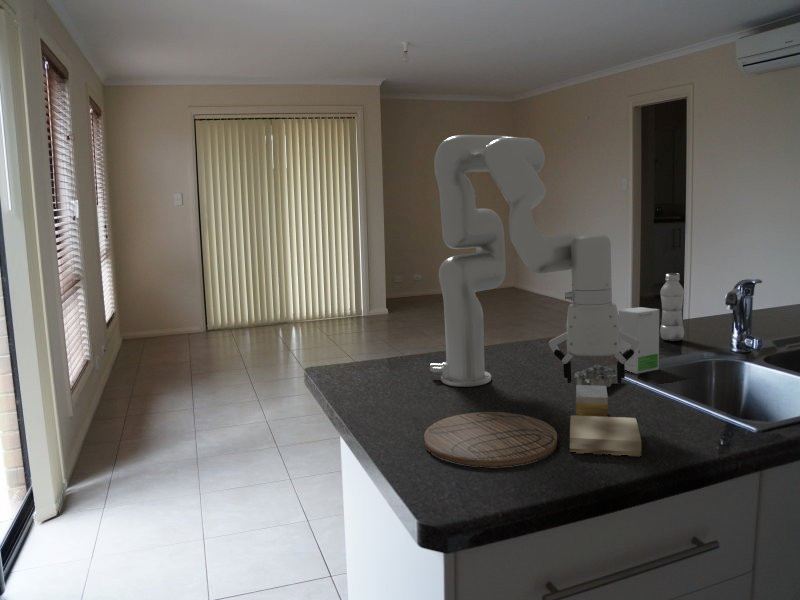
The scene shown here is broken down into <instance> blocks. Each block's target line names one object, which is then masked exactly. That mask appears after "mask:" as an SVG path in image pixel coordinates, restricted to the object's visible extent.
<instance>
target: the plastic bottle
mask: <svg viewBox="0 0 800 600" xmlns="http://www.w3.org/2000/svg"><path fill="white" fill-rule="evenodd" d="M664 280H665V283H664V284H663V286H662V287H661V288H660V291H659V293H660V301H661V309H662V311H661V314H662V315H661V316H662V317H661V324H660V326H659V336H660V337H661V339H662V340H664V341H668V340H669V341H668V342H675V341H676V342H677V341H681V340H683V338H684V335H685V328H684V324H683V303H684V297H685V296H684V295H685V290H684V289H685V288H684V287H683V286H682V285H681V283H680V280H681V278H680V273H678V272H677V273H676V272H669V273H666V274H665V279H664Z"/></svg>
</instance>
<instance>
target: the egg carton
mask: <svg viewBox="0 0 800 600" xmlns="http://www.w3.org/2000/svg"><path fill="white" fill-rule="evenodd" d="M573 377H574V378H576V385H593V386H606V388H610V387H611V386H612V385H613V384H615V385H616V384H619V383H618V382H617V370H615V368H610V367H606V366H602V365H600V364H598V363H596V364H595V365H593V366H592V367H589V368H588V367H587V368H585V369H584V370H581V371H575V372H574V376H573Z"/></svg>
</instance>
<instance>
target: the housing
mask: <svg viewBox="0 0 800 600" xmlns="http://www.w3.org/2000/svg"><path fill="white" fill-rule="evenodd" d="M575 388H576V389H575V416H600V417H609V416H608V413H609V412H608V408H609V407H608V405H609V404H608V403H609V401H608V400H609V396H608V391H607V388H608V387H606V386H593V385H577V384H576V385H575Z"/></svg>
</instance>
